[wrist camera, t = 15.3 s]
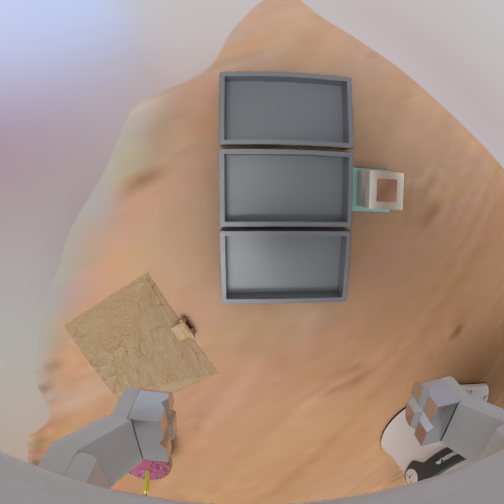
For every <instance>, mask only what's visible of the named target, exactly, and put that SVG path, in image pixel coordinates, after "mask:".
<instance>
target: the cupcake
mask: <svg viewBox="0 0 504 504" xmlns="http://www.w3.org/2000/svg"><path fill="white" fill-rule="evenodd" d="M171 467H172V459H171V457H170V459H169V462H163V461H154V460H146V459H143V461H142V462H140V463H139V464H138V465H137V466H136V467H135V468H133V469H132V470H131V471H130V474H133V475H134V476H137V477H139V478H143V479H145V483H144V493H146V496H147V494H148V490H149V480H155V479H157V480H158V479H161V478H164V477H165V476H167V475H168V474H169V472H170V470H171Z"/></svg>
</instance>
